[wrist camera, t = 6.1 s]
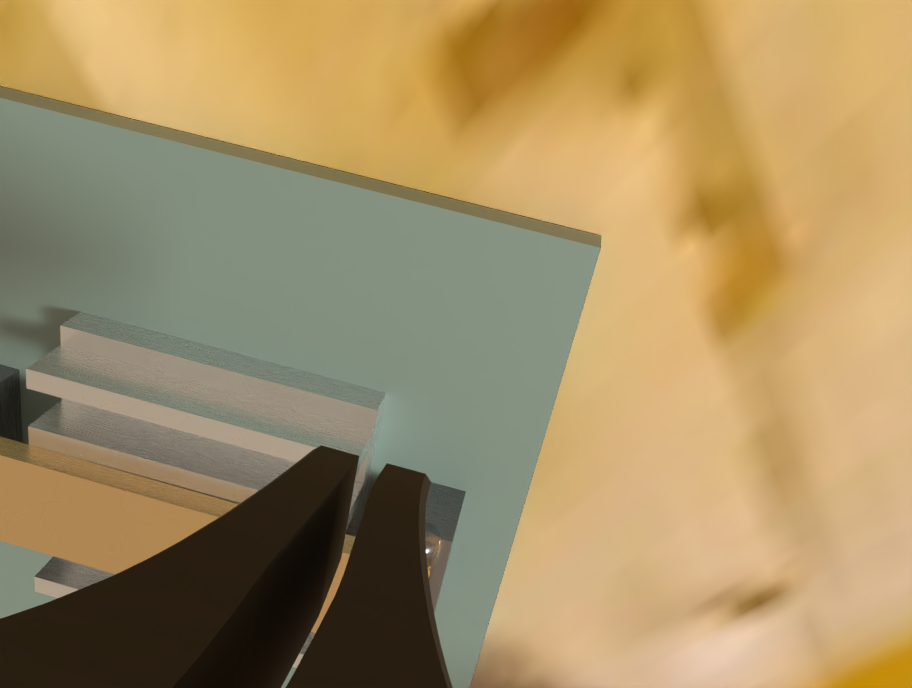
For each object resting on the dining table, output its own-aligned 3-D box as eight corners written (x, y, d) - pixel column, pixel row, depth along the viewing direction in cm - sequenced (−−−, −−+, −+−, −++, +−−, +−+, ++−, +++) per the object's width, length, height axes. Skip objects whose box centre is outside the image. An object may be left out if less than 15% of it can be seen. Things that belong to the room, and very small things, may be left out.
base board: (448, 751, 29) (443, 775, 29) (-13, 615, 31) (-32, 634, 30) (601, 235, 21) (600, 247, 20) (-55, 72, 22) (-84, 76, 21)
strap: (414, 637, 23) (407, 662, 22) (-14, 514, 24) (-36, 533, 23) (434, 556, 21) (427, 579, 21) (-20, 428, 22) (-44, 445, 22)
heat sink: (425, 651, 26) (400, 741, 23) (-7, 527, 27) (-84, 597, 24) (484, 419, 22) (464, 490, 19) (-23, 283, 23) (-119, 331, 20)
